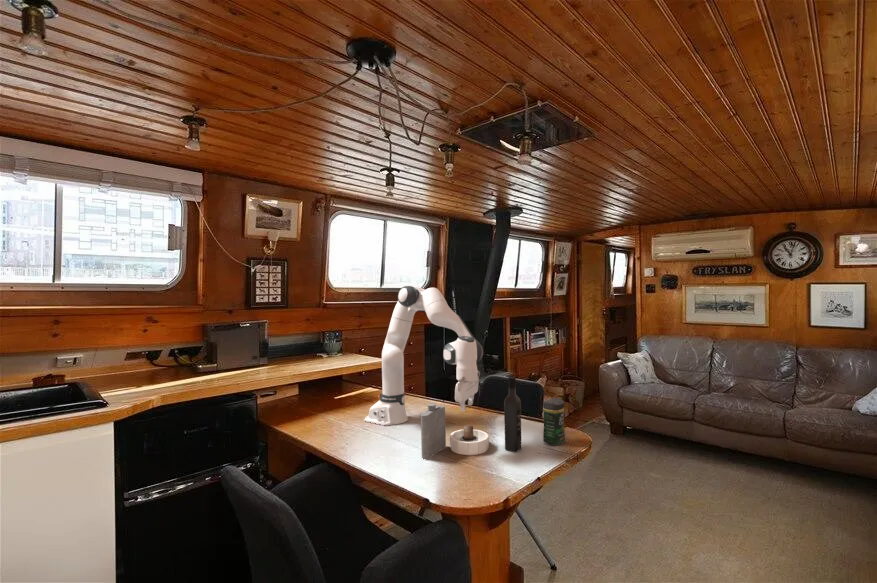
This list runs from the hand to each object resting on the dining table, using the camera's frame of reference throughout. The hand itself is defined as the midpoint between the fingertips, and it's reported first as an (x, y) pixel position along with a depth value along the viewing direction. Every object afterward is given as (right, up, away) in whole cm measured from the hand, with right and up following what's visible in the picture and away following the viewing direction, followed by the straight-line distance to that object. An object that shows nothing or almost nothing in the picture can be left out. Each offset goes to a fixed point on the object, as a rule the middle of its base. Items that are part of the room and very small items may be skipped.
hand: (467, 407), depth 178 cm
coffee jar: (+38, -16, +5) cm, 42 cm away
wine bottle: (+19, -17, -3) cm, 26 cm away
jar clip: (+1, -17, +1) cm, 17 cm away
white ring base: (+1, -17, +1) cm, 17 cm away
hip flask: (-14, -18, -4) cm, 23 cm away
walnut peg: (+1, -16, +1) cm, 16 cm away
